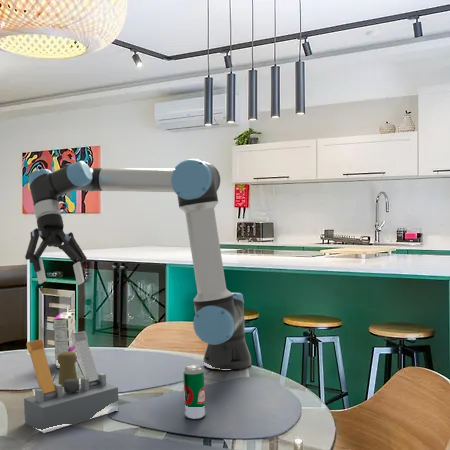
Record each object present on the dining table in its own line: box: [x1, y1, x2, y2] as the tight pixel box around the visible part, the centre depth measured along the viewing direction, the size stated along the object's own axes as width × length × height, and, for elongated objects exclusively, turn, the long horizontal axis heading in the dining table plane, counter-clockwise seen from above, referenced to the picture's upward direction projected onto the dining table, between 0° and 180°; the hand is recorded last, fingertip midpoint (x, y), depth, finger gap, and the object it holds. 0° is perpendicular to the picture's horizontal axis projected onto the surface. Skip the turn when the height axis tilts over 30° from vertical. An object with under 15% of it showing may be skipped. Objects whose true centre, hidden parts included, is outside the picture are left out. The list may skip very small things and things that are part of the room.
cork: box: [57, 352, 79, 387], centre depth 166 cm, size 6×6×11 cm
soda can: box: [182, 364, 206, 407], centre depth 142 cm, size 5×5×12 cm
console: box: [23, 372, 120, 430], centre depth 145 cm, size 10×20×9 cm, turn 132°
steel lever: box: [70, 330, 100, 387], centre depth 151 cm, size 2×4×14 cm
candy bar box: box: [52, 311, 77, 361], centre depth 195 cm, size 11×5×16 cm, turn 3°
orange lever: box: [25, 338, 57, 399], centre depth 143 cm, size 2×4×14 cm
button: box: [64, 378, 80, 393], centre depth 145 cm, size 4×4×2 cm
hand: (62, 282), depth 172 cm, fingers open, 13 cm apart
